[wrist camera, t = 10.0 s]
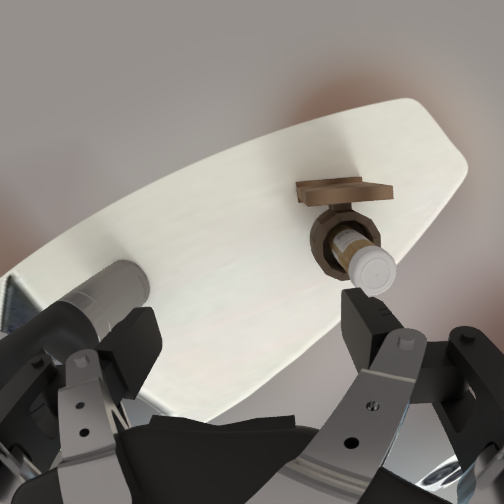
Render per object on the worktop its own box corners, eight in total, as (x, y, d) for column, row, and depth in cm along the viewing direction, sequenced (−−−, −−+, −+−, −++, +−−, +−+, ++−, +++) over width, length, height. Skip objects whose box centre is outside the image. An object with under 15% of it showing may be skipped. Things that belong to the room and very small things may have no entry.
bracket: (304, 262, 43) (315, 294, 31) (295, 182, 40) (305, 185, 28) (364, 255, 42) (393, 283, 30) (360, 176, 39) (392, 179, 27)
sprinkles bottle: (326, 257, 37) (352, 300, 24) (325, 224, 36) (353, 253, 23) (358, 254, 37) (396, 294, 24) (357, 222, 36) (399, 248, 23)
